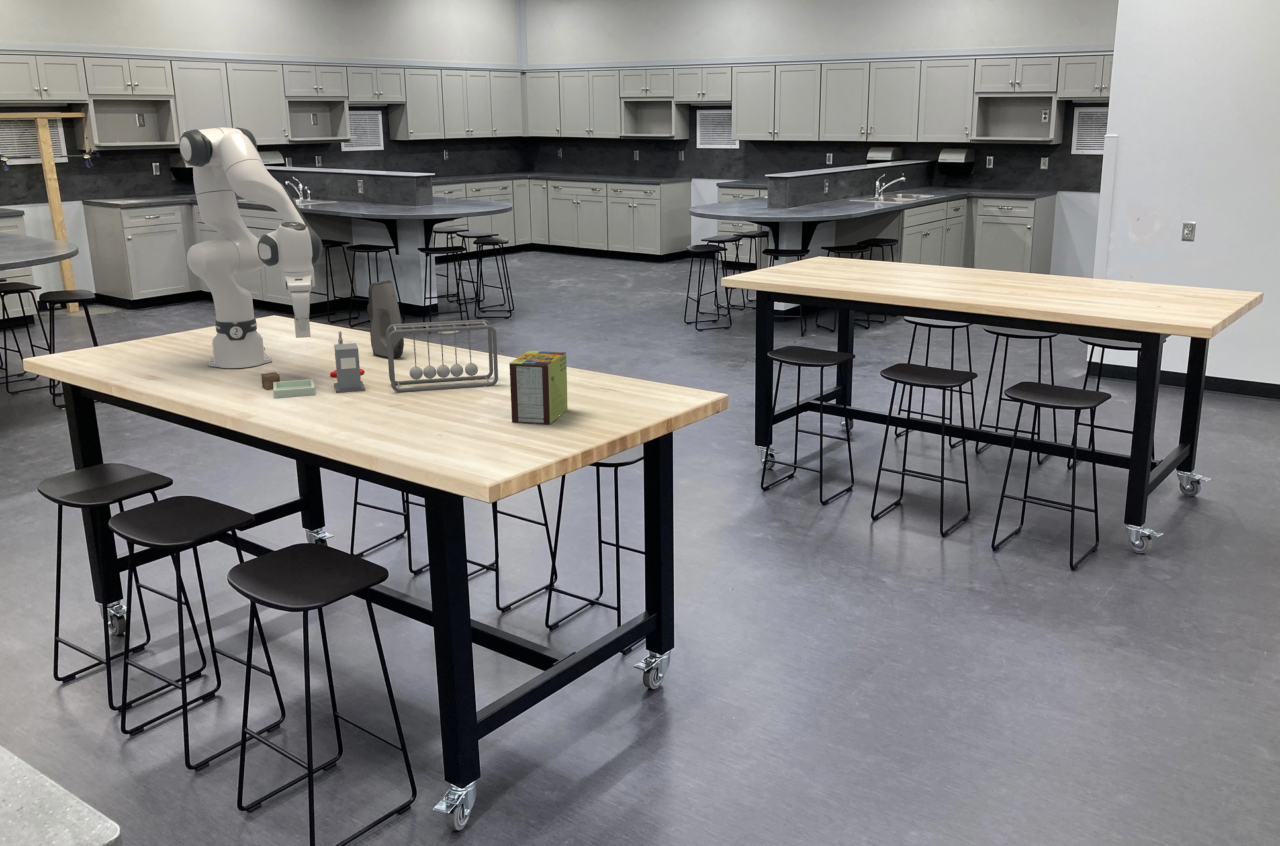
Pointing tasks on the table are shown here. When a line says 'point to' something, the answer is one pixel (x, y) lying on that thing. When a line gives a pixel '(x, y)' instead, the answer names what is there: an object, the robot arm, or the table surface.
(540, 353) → the protein box
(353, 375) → the control box
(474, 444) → the table surface
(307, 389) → the tray
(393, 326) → the newton's cradle
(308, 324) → the block
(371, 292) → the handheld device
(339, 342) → the tow hook
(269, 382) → the walnut block
